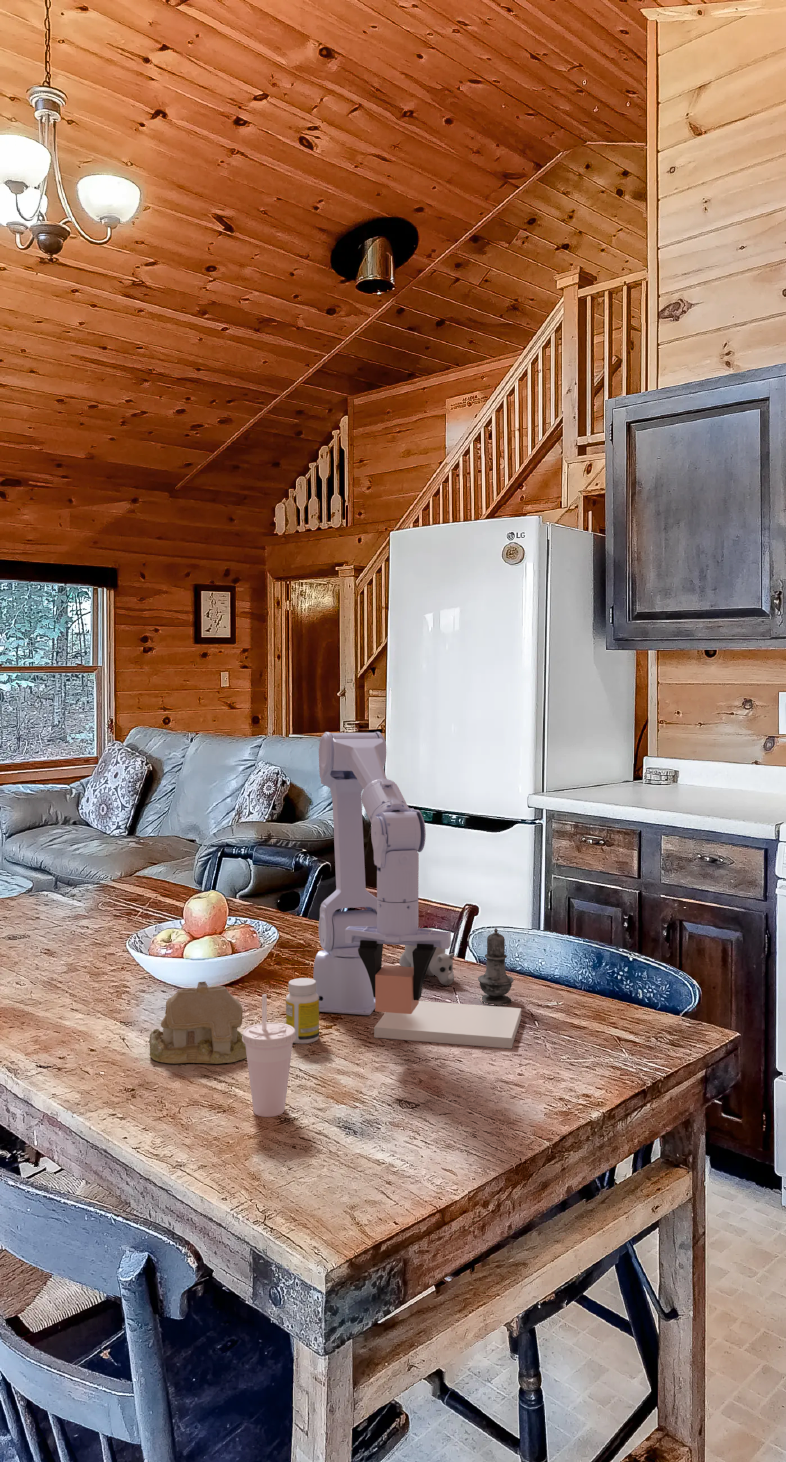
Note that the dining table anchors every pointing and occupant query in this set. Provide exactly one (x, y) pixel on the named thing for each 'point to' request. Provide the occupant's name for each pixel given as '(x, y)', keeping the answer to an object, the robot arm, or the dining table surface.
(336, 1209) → the dining table surface
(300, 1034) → the supplement bottle
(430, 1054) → the dining table surface
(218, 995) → the ceramic model
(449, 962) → the round bodied animal figurine
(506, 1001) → the salt shaker
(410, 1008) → the cube
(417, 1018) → the tray
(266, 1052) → the smoothie
